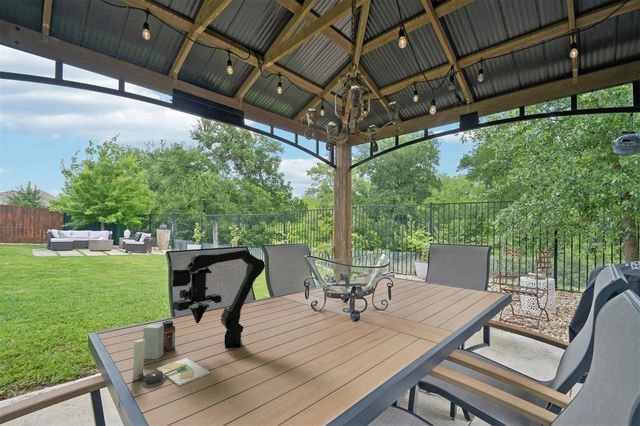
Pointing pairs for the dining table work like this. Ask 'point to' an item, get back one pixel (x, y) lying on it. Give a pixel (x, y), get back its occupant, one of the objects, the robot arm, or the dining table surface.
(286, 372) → the dining table surface
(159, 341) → the skincare box
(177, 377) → the tuner board
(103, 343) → the dining table surface
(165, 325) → the supplement bottle
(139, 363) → the peg dial
